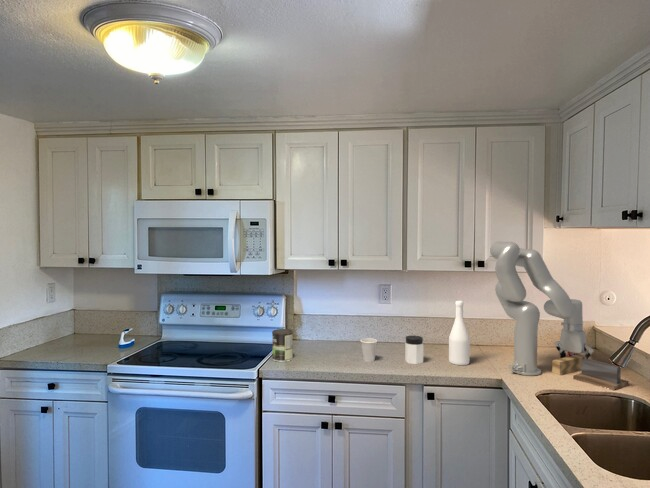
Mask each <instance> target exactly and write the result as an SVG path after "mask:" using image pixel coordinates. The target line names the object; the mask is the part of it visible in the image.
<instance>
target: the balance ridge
mask: <svg viewBox="0 0 650 488" xmlns="http://www.w3.org/2000/svg"><path fill="white" fill-rule="evenodd" d="M617 366H618V365H615V364H612V363H608V362H603V361H598V360H594V359H592V358H591V359H586V358H584V359H582V360H581V370H580V371H581V372H579V373H576V374H574V375H573V377H572V380H576V381H578V382H583V383H586V384H590V385H593V386H597V387H600V386H602V387H601V388H604V387H606V388H605V389H607V388H609V389H608V390H611V389H612V391H616V390H618V388H619V389H622V388H623V387H626V386H629V383H630V382H629V380H626V379H622V378H621V377H622V376H621V375H622V374H621V373H622V371H621V370H622V369H621V368H622V367H621V366H620V367H621V368H620V367H617ZM615 389H616V390H615Z"/></svg>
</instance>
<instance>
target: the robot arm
mask: <svg viewBox="0 0 650 488" xmlns="http://www.w3.org/2000/svg"><path fill="white" fill-rule="evenodd" d="M489 249H490V250H489V253H490V255H491V256H492V258H493V259H496V262H495V276H496V277H497V279H498V281H497V282H496V284H495V289H494V290H495V294H496V297H497V298H498V300H499V302H500V305H501V307H502V309H503V311H504V312H505V314H506V315H507V316H508V317H509V318H511V319H512V320H516V323H515V326H514V331H513V341H514V342H513V344H514V345H513V364H510V365H509V366H508V370H510V371H511V372H512V373H515V374H517V375H523V376H529V377H530V376H539V375H541V374H542V370H541V369H540V368H538V331H539V329H538V328H539V322H540V316H541V315H540V314H541V312H540V309H539V307H537V305H536V304H534V303H532V302H529V301H527V300H525V299H526V297H527V290H526V289H527V288H526V287H525V285H524V284H523V281H522V279H521V278H520V275H519V273H518V271H517V269H516V266H517V267H521V268H524V270H525V271H526V274H527V275H528V277H529V279H530V281H531V283H532V285H533V286H534V287H535V288H536V289H537V290H539V291H541V292H542V293H543V294H544V295H545V296H547V297H548V300H546V301H545V302H544V304H543V310H544V312H546V314H547V315H549V316H552V317H555V318H559V319H562V320H563V321H562V322H561V324H560V325H561V326H563V328H562V329H561V332H560V335H559V336H560V339H559V340H558V341H554V343H553V344H554V346H555V348H556V350H557V351H558V353H559V359H560V358H564V357H567V353H566V352H567V351H568V352H572V353H577V354H581V355H582V357H583V358H582V359H584V358H586V359H588V358H589V357H590V356H591V357H592V356H593V354H594V351H595V349H594V348H592V347H591V346H589V345H588V344H587V337H586V333H585V330H584V329H583V328H584V327H583V325H584V323H583V321H584V320H583V302H582V301H581V300H580V299H574V298H570V296H569V294H568V293H567V292H566V290H565V289H564V288H563V287H562V286H561V285H560V284H559V283H558V281H556V280H555V279H554V277H553V276H552V274H551V272H550V271H549V269H548V267H547V265H546V263H545V261H544V259H543V257H542V256H541V254H540V253H539V251H537V250H535V249H530V248H521V247H520V246H519V244H517V243H515V242H512V241H503V240H502V241H500V240H499V241H496V242H494V243H492V245H490V248H489ZM587 351H588V352H587Z"/></svg>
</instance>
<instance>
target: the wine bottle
mask: <svg viewBox="0 0 650 488" xmlns="http://www.w3.org/2000/svg"><path fill="white" fill-rule="evenodd" d="M454 303H455V317H454V321H453V325H452V328H451V331H450V333H449V337H448V361H449V363H450V364H451V365H455V366H466V365H469V364H470V361H471V360H470V359H471V358H470V351H471V350H470V349H471V348H470V344H471V343H470V341H471V340H470V336H469V332H468V330H467V327H466V324H465V320H464V309H463V308H464V301H463V300H455V302H454Z"/></svg>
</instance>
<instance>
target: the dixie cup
mask: <svg viewBox="0 0 650 488" xmlns="http://www.w3.org/2000/svg"><path fill="white" fill-rule="evenodd" d="M359 341H360V345H361V354H362V361H363V362H365V363H372V362H374V361H375V360H376V352H377V345H378V344H377V343H378V340H377V339H376V338H371V337H367V338H366V337H365V338H362V339H360V340H359Z"/></svg>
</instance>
